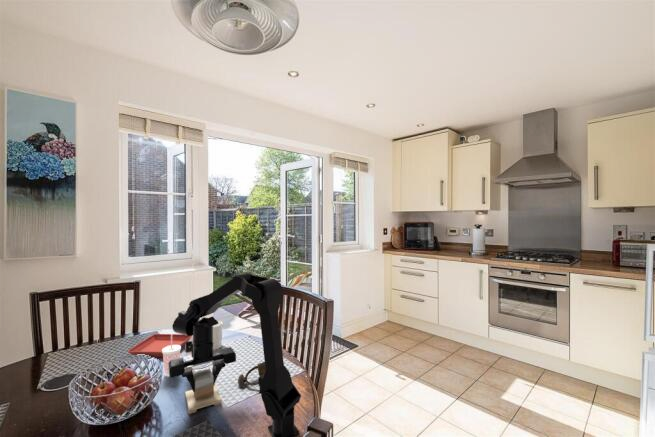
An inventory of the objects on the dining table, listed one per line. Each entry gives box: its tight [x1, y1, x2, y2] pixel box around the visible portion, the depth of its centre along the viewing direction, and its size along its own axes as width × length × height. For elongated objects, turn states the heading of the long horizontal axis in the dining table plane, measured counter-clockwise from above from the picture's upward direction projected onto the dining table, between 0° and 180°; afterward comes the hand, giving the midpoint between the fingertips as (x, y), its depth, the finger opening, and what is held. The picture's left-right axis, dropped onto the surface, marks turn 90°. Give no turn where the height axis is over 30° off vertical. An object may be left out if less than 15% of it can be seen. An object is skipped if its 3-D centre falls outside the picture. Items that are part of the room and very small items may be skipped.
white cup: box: [213, 320, 224, 351], centre depth 131 cm, size 8×8×10 cm
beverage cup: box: [162, 333, 182, 377], centre depth 109 cm, size 6×6×14 cm
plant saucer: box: [127, 333, 193, 358], centre depth 128 cm, size 18×18×3 cm
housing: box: [192, 368, 214, 400], centre depth 93 cm, size 6×5×6 cm
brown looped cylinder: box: [237, 361, 265, 388], centre depth 104 cm, size 7×13×10 cm
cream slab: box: [184, 383, 223, 415], centre depth 93 cm, size 10×9×2 cm
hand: (203, 388), depth 93 cm, fingers closed on housing, 5 cm apart
